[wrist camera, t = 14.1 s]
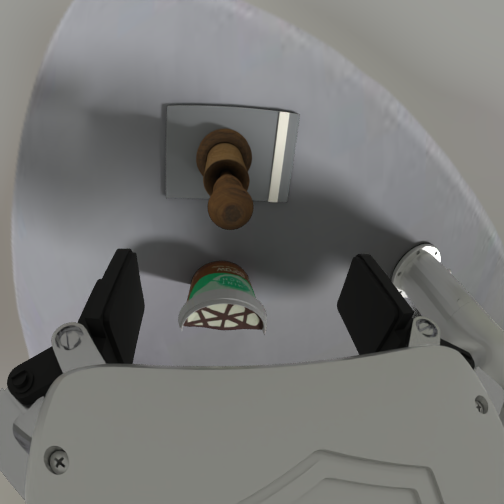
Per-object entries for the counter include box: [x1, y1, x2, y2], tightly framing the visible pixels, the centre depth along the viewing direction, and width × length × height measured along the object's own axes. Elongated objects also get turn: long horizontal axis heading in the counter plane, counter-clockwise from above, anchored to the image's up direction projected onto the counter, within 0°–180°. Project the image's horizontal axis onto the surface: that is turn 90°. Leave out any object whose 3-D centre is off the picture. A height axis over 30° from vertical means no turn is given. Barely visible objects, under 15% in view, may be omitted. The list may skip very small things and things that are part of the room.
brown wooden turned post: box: [196, 129, 253, 230], centre depth 24 cm, size 7×6×18 cm
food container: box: [178, 261, 267, 335], centre depth 38 cm, size 12×6×10 cm, turn 80°
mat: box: [166, 105, 300, 202], centre depth 32 cm, size 16×12×1 cm
